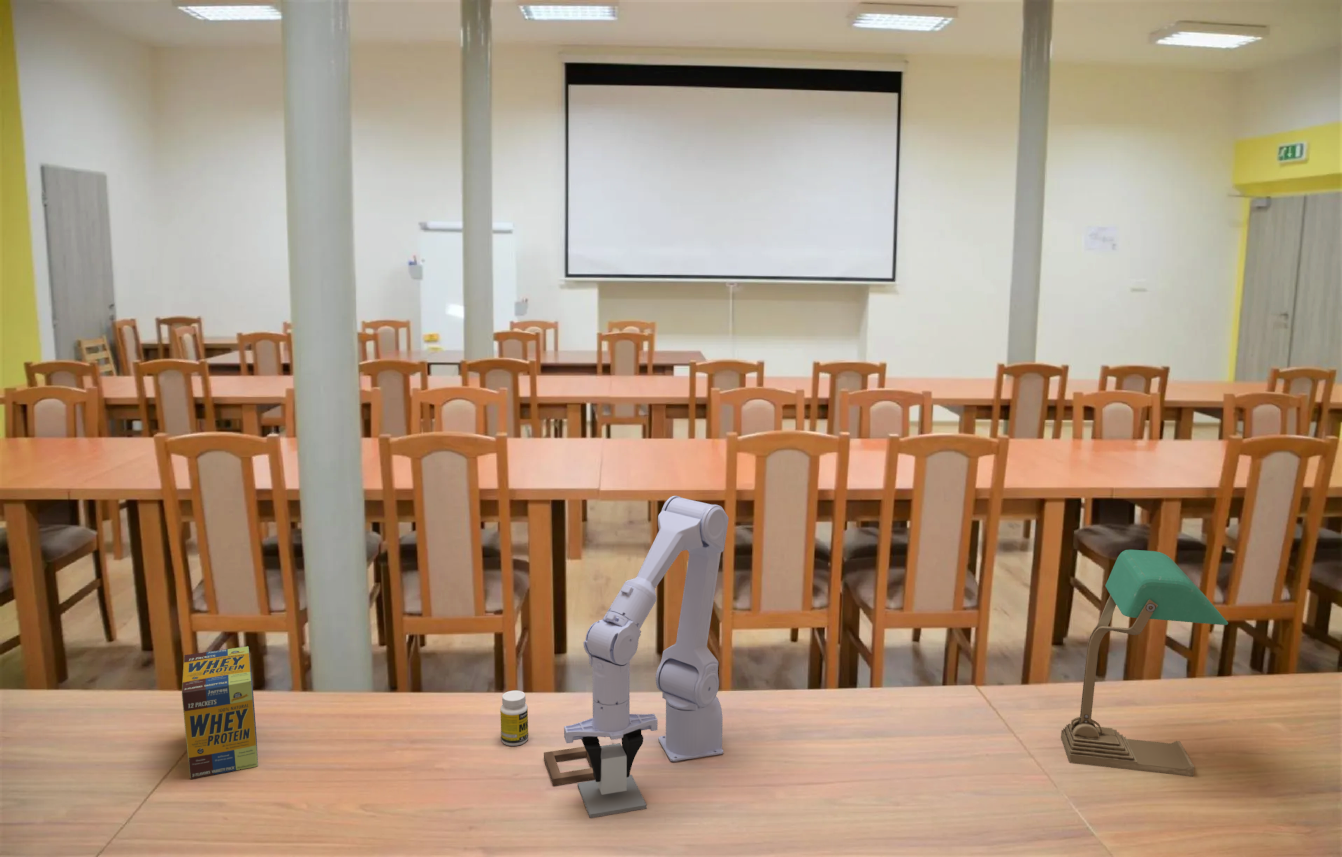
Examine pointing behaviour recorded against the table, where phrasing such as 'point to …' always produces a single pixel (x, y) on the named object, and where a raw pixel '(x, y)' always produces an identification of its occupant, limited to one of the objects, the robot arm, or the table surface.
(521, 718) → the supplement bottle
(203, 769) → the protein box
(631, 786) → the coaster
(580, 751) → the holder
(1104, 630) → the banker's lamp
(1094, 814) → the table surface
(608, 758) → the block
